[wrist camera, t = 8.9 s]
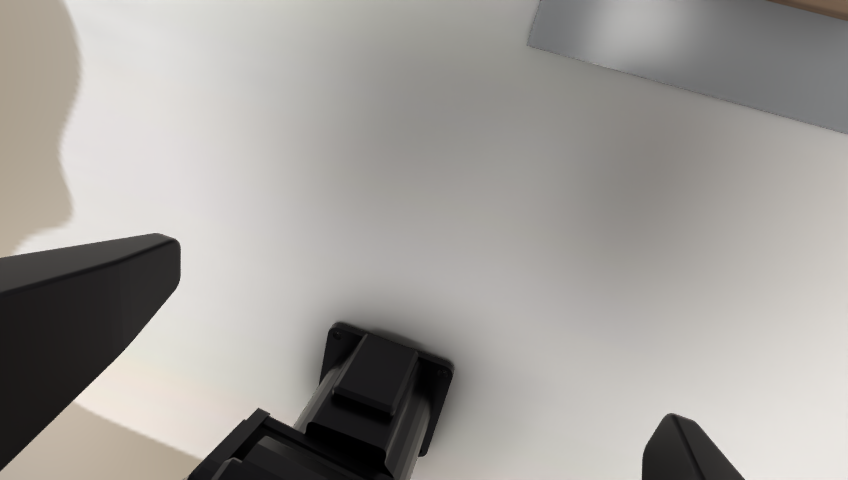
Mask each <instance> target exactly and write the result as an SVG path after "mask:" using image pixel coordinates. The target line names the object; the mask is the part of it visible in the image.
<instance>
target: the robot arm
mask: <svg viewBox="0 0 848 480" xmlns="http://www.w3.org/2000/svg"><path fill="white" fill-rule="evenodd" d="M180 276H181V247H180V243H179V242H178V241H177V240H176V239H174V238H171V237H168V236H166V235H163V234H160V233H153V234H147V235H140V236H134V237H128V238H121V239H115V240H109V241H103V242H96V243H90V244H84V245H78V246H71V247H65V248H59V249H53V250H46V251H40V252H34V253H28V254H21V255H15V256H9V257H4V258H0V471H1V470H2V469H3V468H4V467H5V466H6V465H7V464H8V463H10V461H12V459H14V458H15V457H16V456H17V455H18V454H19V453H20V452H21V451H22V450H23V449H24V448H25V447H26V446H27V445H28V444H29V443H30V442H31V441H32V440H33V439H34V438H35V437H36V436H37V435H38V434H39V433H40V432H41V431H42V430H43V429H44V428H45V427H46V426H47V425H48V424H50V423H51V422H52V421H53V420H54V419H55V418H56V417H57V416H58V415H59V414H60V413H61V412H62V411H63V410H64V409H65V408H66V407H67V406H68V405H69V404H70V403H71V402H72V401H73V400H74V399H75V398H76V397H77V396H78V395H79V394H80V393H81V392H82V391H83V390H84V389H85V388H87V387H88V386H89V385H90V384H91V383H92V382H93V381H94V380H95V379H96V378H97V377H98V376H99V375H100V374H101V373H102V372H103V371H104V370H105V369H106V368H107V367H108V366H109V365H110V364H111V363H112V362H113V361H114V360H115V359H116V358H117V357H118V356H119V355H120V354H121V353H122V352H123V351H124V350H125V349H126V348H127V347H128V345H129V344H130V343H131V342H132V341H133V340H134V339H135V337H136V336H137V335H138V334H139V333H140V331H141V330H142V329H143V328H144V327H145V325H146V324H147V323H148V322H149V321H150V319H151V318H152V317H153V316H154V315H155V314H156V312H157V311H158V310H159V309H160V308H161V306H162V305H163V304H164V303H165V302H166V300H167V299H168V298H169V297H170V296H171V294H172V293H173V292H174V291H175V289H176V288H177V286H178V284H179V281H180ZM337 332H339V333H341V335H342V336H341V335H339V334H337ZM440 370H445V371H446V372H447V373H443V372H441V371H440ZM453 374H454V367H453V365H452V364H451V363H450V362H448V361H446V360H443V359H440V358H437V357H434V356H431V355H429V354H426V353H423V352H420V351H417V350H415V349H412V348H409V347H406V346H403V345H401V344H398V343H395V342H392V341H389V340H387V339H384V338H381V337H378V336H375V335H373V334H370V333H367V332H364V331H361V330H359V329H356V328H353V327H350V326H347V325H345V324H342V323H335V324H334V325H333V326H332V327H331V328H330V330H329V332H328V337H327V342H326V348H325V353H324V359H323V365H322V370H321V376H320V382H319V387H318V389H317V390H316V392H315V393H314V395H313V396H312V398H311V399H310V401H309V403H308V404H307V406H306V407H305V409H304V410H303V412H302V414H301V415H300V417H299V418H298V420H297V421H296V423H295V424H294V426H293V428H292V427H290V426H288V425H286V424H284V423H282V422H280V421H278V420H276V419H274V418H272V417H270V413H268V412H266V411H264V410H262V409H260V408H258V409H257V410H256V411H255V412H254V413H253V414H252V415H251V416H250V417H249V418H248V419H247V420H245V419H244V420H243V421H242V422H241V423H240V424H239V425H238V426H237V427H236V428H235V429H234V430H233V431H232V432H231V433H230V434H229V435H228V436H227V437H226V438H225V439H224V440H223V441H222V442H221V443H220V444H219V445H218V446H217V447H216V448H215V449H214V450H213V451H212V452H211V453H210V454H209V455H208V456H207V457H206V458H205V459H204V460H203V461H202V462H201V463H200V464H199V465H198V466H197V467H196V468H195V469H194V470H193V472H192V473H191V474H190V475H189V476H187V477H186V478H184V479H183V480H410V478H411V475H412V472H413V469H414V466H415V463H416V460H417V457H423V456H425V455H426V453H427V451H428V448H429V445H430V442H431V439H432V436H433V433H434V430H435V427H436V424H437V422H438V419H439V416H440V413H441V410H442V407H443V404H444V401H445V398H446V395H447V392H448V389H449V386H450V383H451V380H452V377H453ZM642 480H745V479H744V478H743V477H742V476H741V474H740V473H739V472H738V471H737V470H736V469H735V467H734V466H733V465H732V464H731V463H730V462H729V460H728V459H727V458H726V457H725V456H724V454H723V453H722V452H721V451H720V450H719V449H718V447H717V446H716V445H715V444H714V443H713V441H712V440H711V439H710V438H709V437H708V436H707V434H706V433H705V432H704V431H703V430H702V429H701V427H700V426H699V425H698V424H697V423H696V422H695V421H693V420H691V419H688V418H685V417H682V416H679V415H677V414H674V413H670V414H667V415H666V416H665V417H664V418H663V419H662V421H661V422H660V424H659V426H658V427H657V429H656V430H655V432H654V433H653V435H652V437H651V438H650V440H649V441H648V443H647V445H646V447H645V449H644V453H643V459H642Z"/></svg>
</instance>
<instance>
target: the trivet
mask: <svg viewBox="0 0 848 480" xmlns="http://www.w3.org/2000/svg"><path fill="white" fill-rule="evenodd" d="M527 46H530V47H534V48H538V49H541V50H545V51H549V52H552V53H556V54H559V55H563V56H567V57H570V58H574V59H577V60H581V61H585V62H588V63H592V64H596V65H599V66H603V67H606V68H610V69H614V70H617V71H621V72H624V73H628V74H632V75H635V76H639V77H643V78H646V79H650V80H653V81H657V82H661V83H664V84H668V85H671V86H675V87H679V88H682V89H686V90H690V91H693V92H697V93H700V94H704V95H708V96H711V97H715V98H718V99H722V100H726V101H729V102H733V103H737V104H740V105H744V106H747V107H751V108H755V109H758V110H762V111H766V112H769V113H773V114H776V115H780V116H784V117H787V118H791V119H794V120H798V121H802V122H805V123H809V124H813V125H816V126H820V127H823V128H827V129H831V130H834V131H838V132H841V133H845V134H848V21H845V20H841V19H837V18H833V17H829V16H825V15H822V14H818V13H814V12H810V11H806V10H802V9H798V8H794V7H790V6H786V5H782V4H778V3H774V2H770V1H766V0H540V3H539V7H538V10H537V13H536V16H535V20H534V23H533V26H532V29H531V33H530V36H529V39H528V43H527Z"/></svg>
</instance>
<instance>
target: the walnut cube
mask: <svg viewBox="0 0 848 480" xmlns="http://www.w3.org/2000/svg"><path fill="white" fill-rule="evenodd" d="M766 1H770V2H774V3H778V4H782V5H786V6H790V7H794V8H798V9H802V10H806V11H810V12H814V13H818V14H822V15H825V16H829V17H833V18H837V19H841V20H845V21H848V0H766Z"/></svg>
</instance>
